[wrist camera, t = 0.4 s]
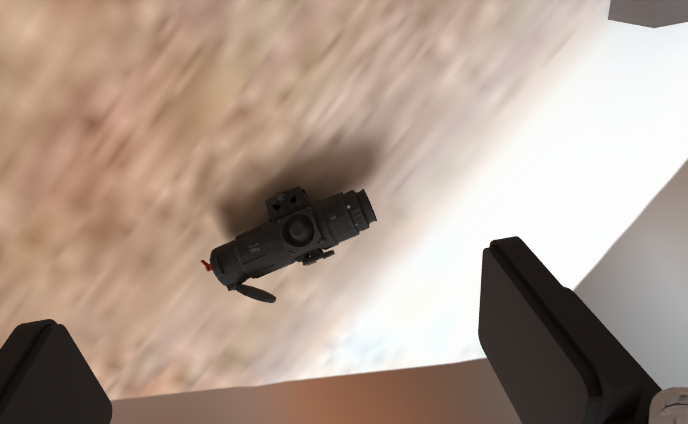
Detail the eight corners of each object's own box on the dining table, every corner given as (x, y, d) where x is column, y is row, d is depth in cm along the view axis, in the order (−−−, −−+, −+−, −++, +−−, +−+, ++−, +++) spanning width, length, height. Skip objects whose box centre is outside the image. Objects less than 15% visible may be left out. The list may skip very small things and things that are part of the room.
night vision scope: (359, 173, 50) (393, 255, 48) (220, 233, 52) (248, 313, 50) (348, 157, 42) (389, 254, 41) (185, 228, 44) (218, 323, 42)
